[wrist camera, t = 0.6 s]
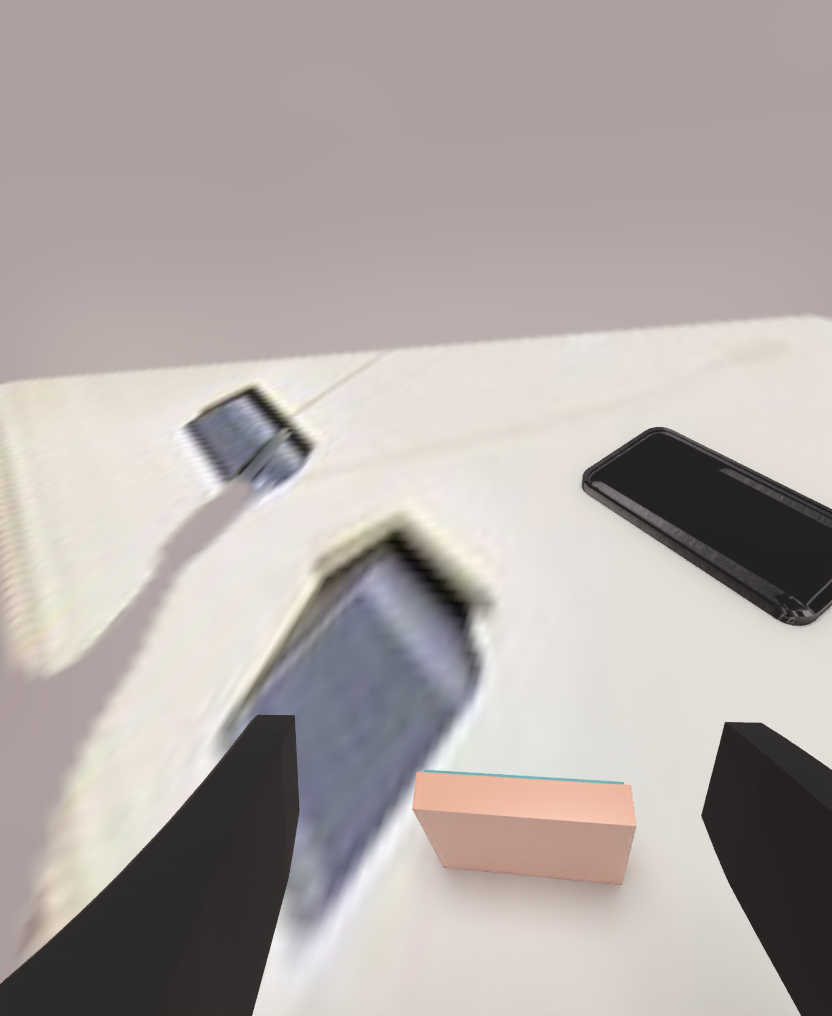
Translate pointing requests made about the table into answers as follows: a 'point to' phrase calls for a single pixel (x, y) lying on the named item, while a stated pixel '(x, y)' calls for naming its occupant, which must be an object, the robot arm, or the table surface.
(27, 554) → the table surface
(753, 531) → the phone
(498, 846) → the tile
